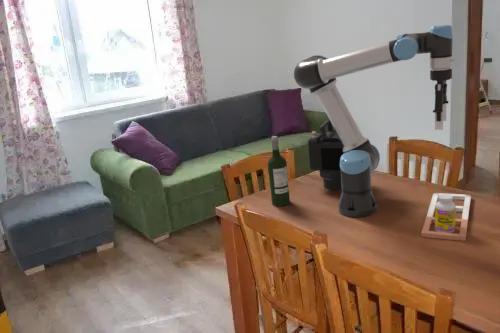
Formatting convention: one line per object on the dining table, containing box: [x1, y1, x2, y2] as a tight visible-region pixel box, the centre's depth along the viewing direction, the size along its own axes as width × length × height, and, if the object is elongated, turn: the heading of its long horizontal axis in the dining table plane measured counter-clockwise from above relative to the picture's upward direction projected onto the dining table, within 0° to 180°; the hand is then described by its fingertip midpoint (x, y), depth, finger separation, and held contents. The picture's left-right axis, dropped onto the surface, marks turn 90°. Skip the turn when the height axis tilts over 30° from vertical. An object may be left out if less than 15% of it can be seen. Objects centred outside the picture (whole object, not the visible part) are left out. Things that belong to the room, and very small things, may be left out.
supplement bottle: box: [434, 193, 457, 233], centre depth 169 cm, size 7×7×13 cm
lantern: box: [307, 119, 344, 191], centre depth 222 cm, size 15×18×30 cm
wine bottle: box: [267, 135, 291, 207], centre depth 208 cm, size 8×8×30 cm
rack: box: [421, 192, 472, 242], centre depth 181 cm, size 38×14×2 cm, turn 154°
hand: (440, 124), depth 185 cm, fingers open, 13 cm apart
